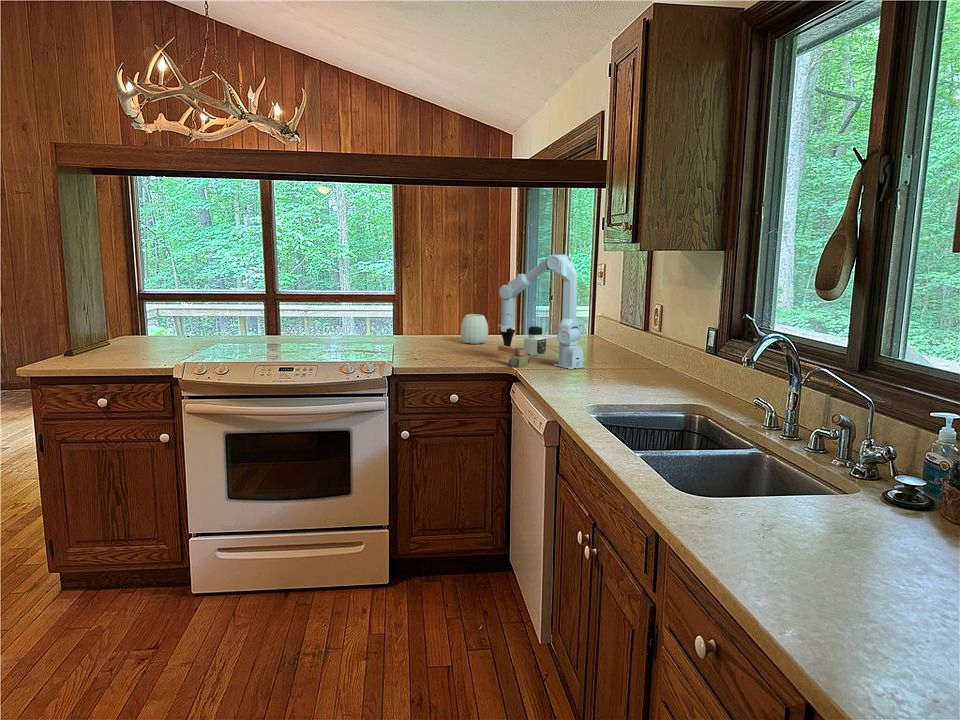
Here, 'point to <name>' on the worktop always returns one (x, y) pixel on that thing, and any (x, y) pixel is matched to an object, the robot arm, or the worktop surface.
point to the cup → (474, 329)
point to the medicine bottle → (535, 341)
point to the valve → (518, 361)
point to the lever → (511, 350)
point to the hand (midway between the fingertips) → (507, 347)
